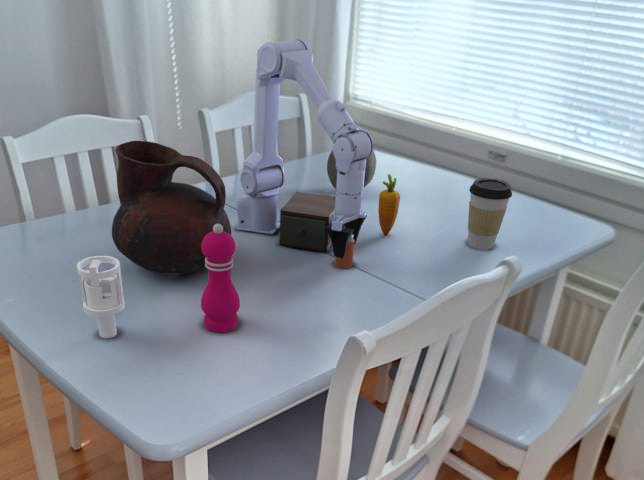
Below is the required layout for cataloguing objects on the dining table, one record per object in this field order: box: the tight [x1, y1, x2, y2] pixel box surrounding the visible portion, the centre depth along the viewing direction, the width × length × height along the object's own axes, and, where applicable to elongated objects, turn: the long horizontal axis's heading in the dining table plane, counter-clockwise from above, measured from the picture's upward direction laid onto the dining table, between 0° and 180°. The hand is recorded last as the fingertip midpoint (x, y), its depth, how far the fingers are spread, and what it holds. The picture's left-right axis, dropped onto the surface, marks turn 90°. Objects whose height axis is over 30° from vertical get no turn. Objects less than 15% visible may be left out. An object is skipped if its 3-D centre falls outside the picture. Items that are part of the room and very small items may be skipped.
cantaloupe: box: [326, 149, 377, 190], centre depth 186 cm, size 14×14×15 cm
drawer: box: [281, 214, 326, 250], centre depth 158 cm, size 14×10×7 cm
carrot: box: [378, 173, 401, 237], centre depth 161 cm, size 5×5×15 cm
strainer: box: [76, 255, 126, 339], centre depth 117 cm, size 7×7×15 cm
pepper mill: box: [200, 224, 241, 333], centre depth 120 cm, size 7×7×20 cm
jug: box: [111, 140, 232, 275], centre depth 140 cm, size 25×25×25 cm
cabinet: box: [279, 191, 336, 253], centre depth 160 cm, size 14×12×9 cm
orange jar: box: [334, 233, 355, 269], centre depth 148 cm, size 4×4×7 cm
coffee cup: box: [467, 177, 513, 251], centre depth 159 cm, size 10×10×15 cm
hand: (344, 250), depth 148 cm, fingers open, 7 cm apart
